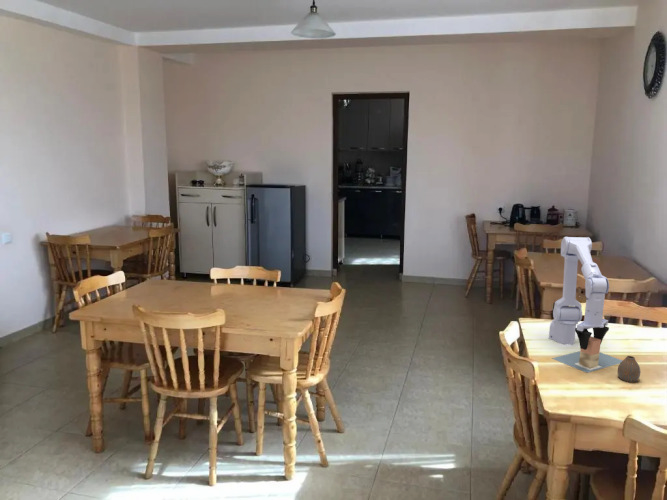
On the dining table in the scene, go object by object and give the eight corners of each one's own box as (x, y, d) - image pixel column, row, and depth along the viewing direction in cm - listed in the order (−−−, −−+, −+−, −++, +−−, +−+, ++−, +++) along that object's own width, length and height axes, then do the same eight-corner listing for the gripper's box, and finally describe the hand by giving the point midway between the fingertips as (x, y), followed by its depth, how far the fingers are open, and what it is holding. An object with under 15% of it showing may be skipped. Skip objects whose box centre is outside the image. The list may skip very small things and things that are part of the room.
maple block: (578, 364, 205) (580, 351, 204) (586, 362, 207) (588, 349, 206) (589, 368, 201) (591, 355, 200) (597, 366, 203) (599, 353, 202)
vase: (611, 378, 195) (614, 354, 194) (626, 375, 198) (629, 352, 196) (628, 386, 189) (631, 361, 187) (643, 383, 192) (647, 359, 190)
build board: (551, 360, 211) (551, 357, 211) (589, 350, 222) (589, 348, 221) (586, 374, 198) (587, 372, 198) (625, 363, 209) (625, 361, 209)
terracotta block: (580, 351, 204) (581, 337, 203) (588, 349, 206) (589, 335, 205) (591, 355, 200) (592, 341, 199) (599, 353, 202) (600, 339, 201)
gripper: (591, 316, 193) (586, 354, 196) (617, 310, 200) (613, 347, 203) (573, 311, 199) (569, 347, 202) (599, 305, 206) (595, 341, 209)
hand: (590, 347), depth 203 cm, fingers open, 7 cm apart
